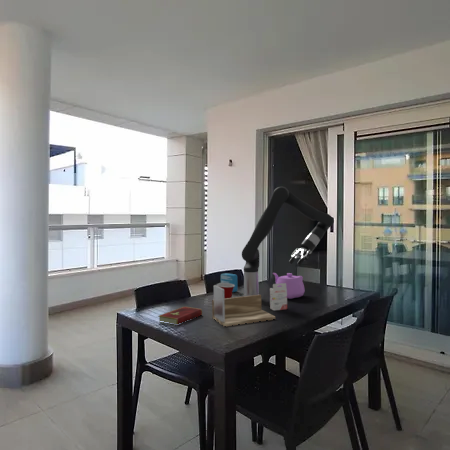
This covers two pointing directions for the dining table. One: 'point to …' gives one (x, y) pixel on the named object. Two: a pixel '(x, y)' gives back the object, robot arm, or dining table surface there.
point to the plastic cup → (226, 289)
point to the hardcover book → (180, 315)
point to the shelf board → (243, 310)
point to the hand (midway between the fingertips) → (294, 263)
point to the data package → (230, 280)
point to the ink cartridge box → (278, 297)
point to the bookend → (219, 303)
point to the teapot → (291, 285)
